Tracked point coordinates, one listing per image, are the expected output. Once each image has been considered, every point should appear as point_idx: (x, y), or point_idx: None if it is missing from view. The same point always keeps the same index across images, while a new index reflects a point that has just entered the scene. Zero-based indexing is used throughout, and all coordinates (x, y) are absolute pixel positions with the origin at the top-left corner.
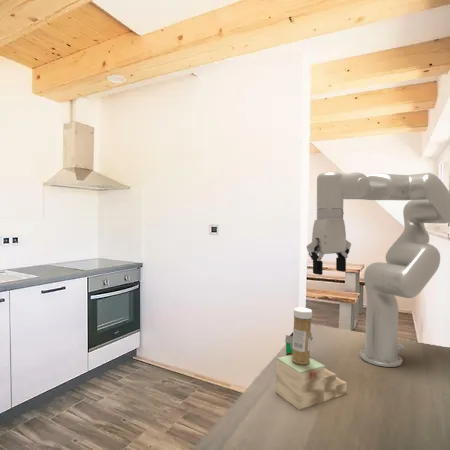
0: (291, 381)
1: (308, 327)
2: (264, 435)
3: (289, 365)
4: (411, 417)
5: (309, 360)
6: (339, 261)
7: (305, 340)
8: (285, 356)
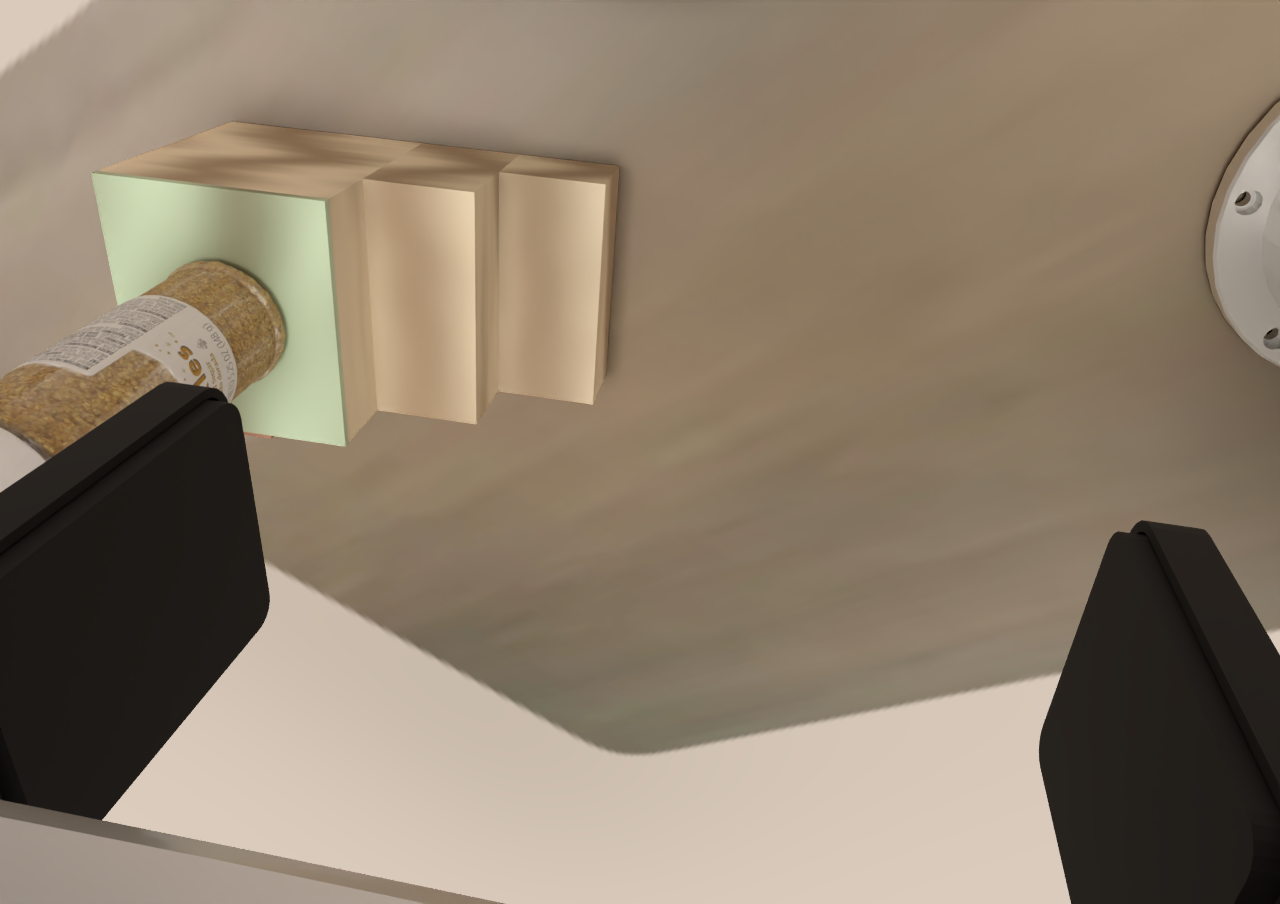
0: None
1: None
2: None
3: None
4: (693, 643)
5: (260, 377)
6: (1155, 862)
7: None
8: (170, 188)
